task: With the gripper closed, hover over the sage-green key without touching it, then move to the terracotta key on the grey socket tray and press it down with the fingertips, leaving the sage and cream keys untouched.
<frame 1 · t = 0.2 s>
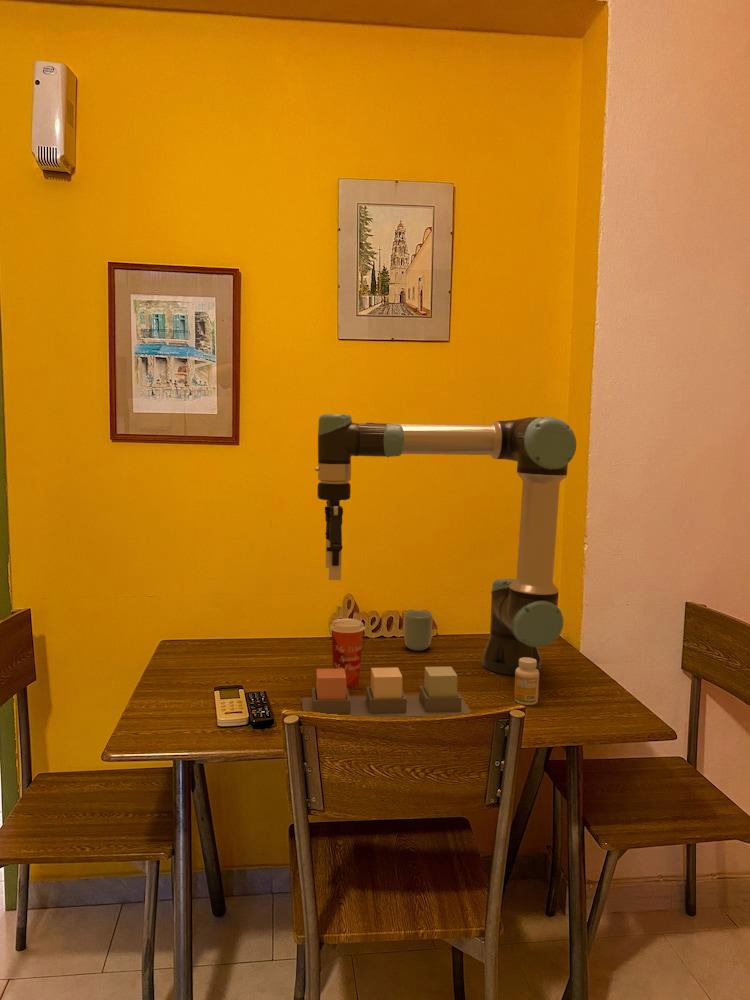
hand: (333, 573, 172), 28 cm above the table, fingers open, 13 cm apart
key sage: (440, 682, 163), point 6 cm above the table, slide at 0.0 cm
key cream: (386, 683, 162), point 6 cm above the table, slide at 0.0 cm
grey socket tray: (385, 711, 162), on the table
key terracotta: (331, 684, 160), point 6 cm above the table, slide at 0.0 cm
coffee cup: (346, 683, 179), on the table
supplement bottle: (525, 701, 170), on the table
cup: (417, 649, 208), on the table
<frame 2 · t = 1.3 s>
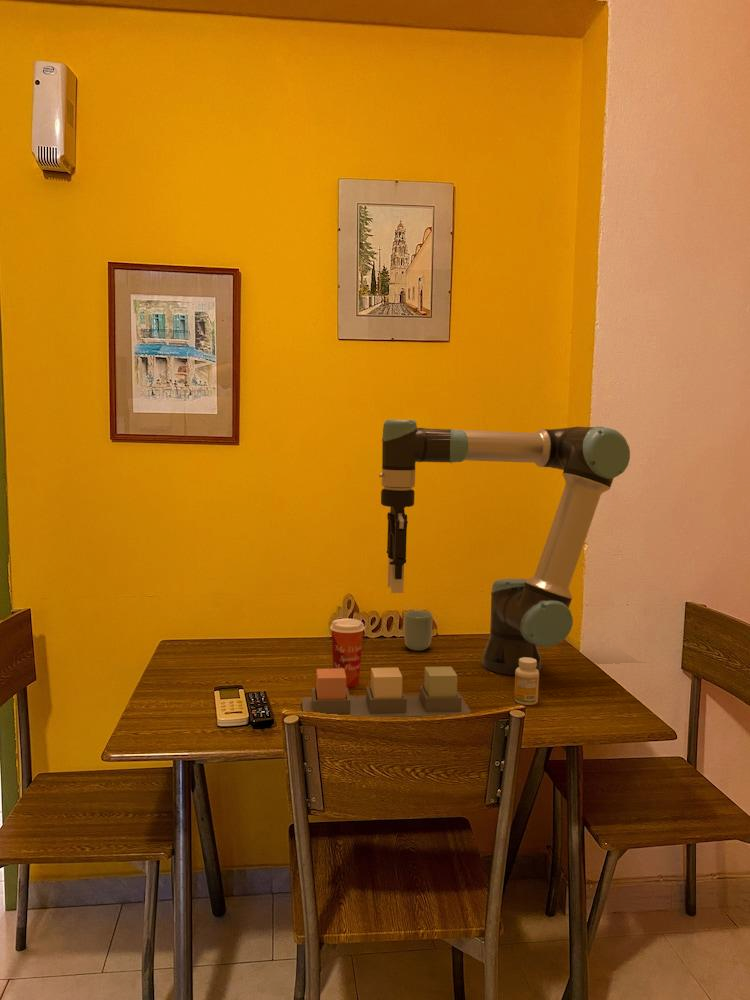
hand: (395, 589, 170), 25 cm above the table, fingers open, 5 cm apart
nothing on the table moved.
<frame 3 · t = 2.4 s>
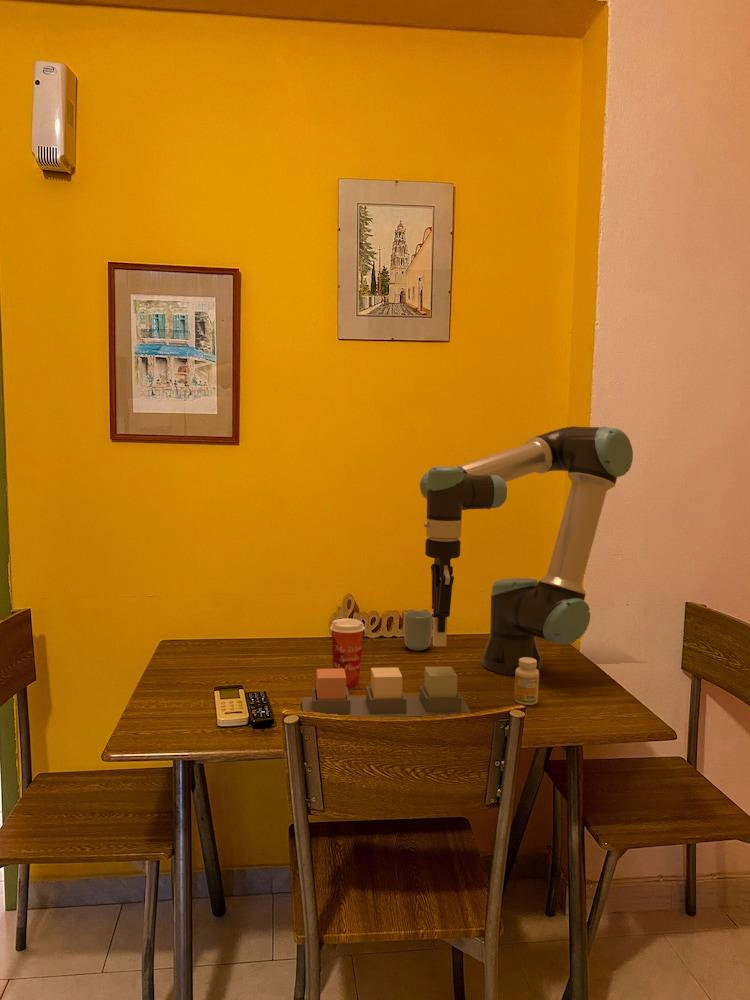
hand: (439, 645, 163), 15 cm above the table, fingers closed
nothing on the table moved.
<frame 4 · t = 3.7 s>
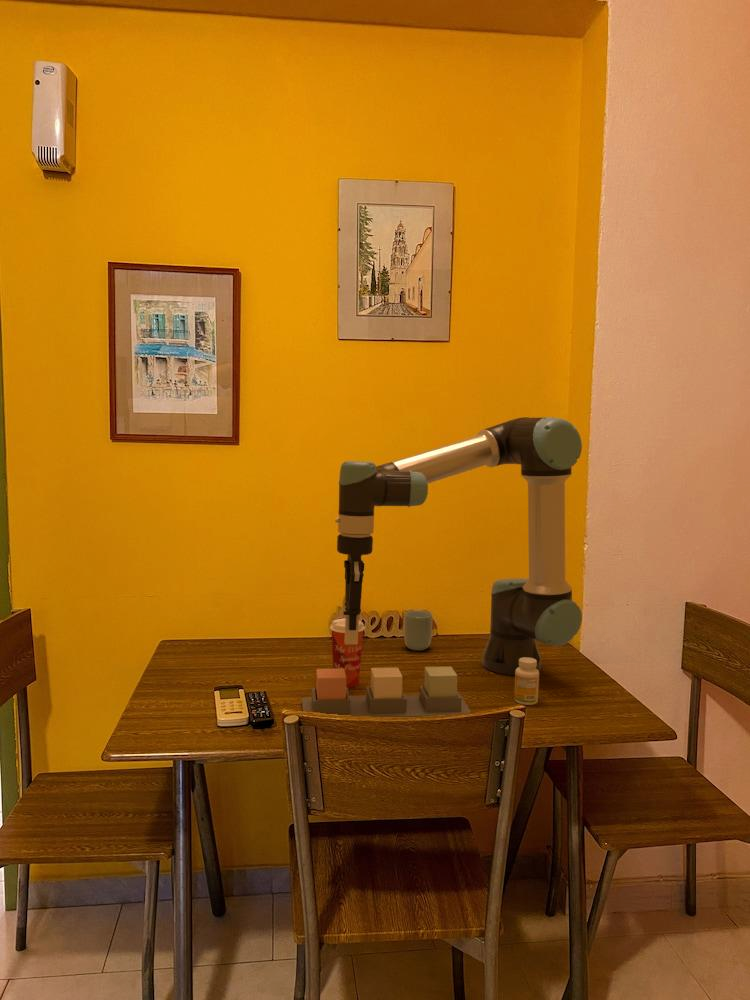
hand: (351, 643, 159), 15 cm above the table, fingers closed
nothing on the table moved.
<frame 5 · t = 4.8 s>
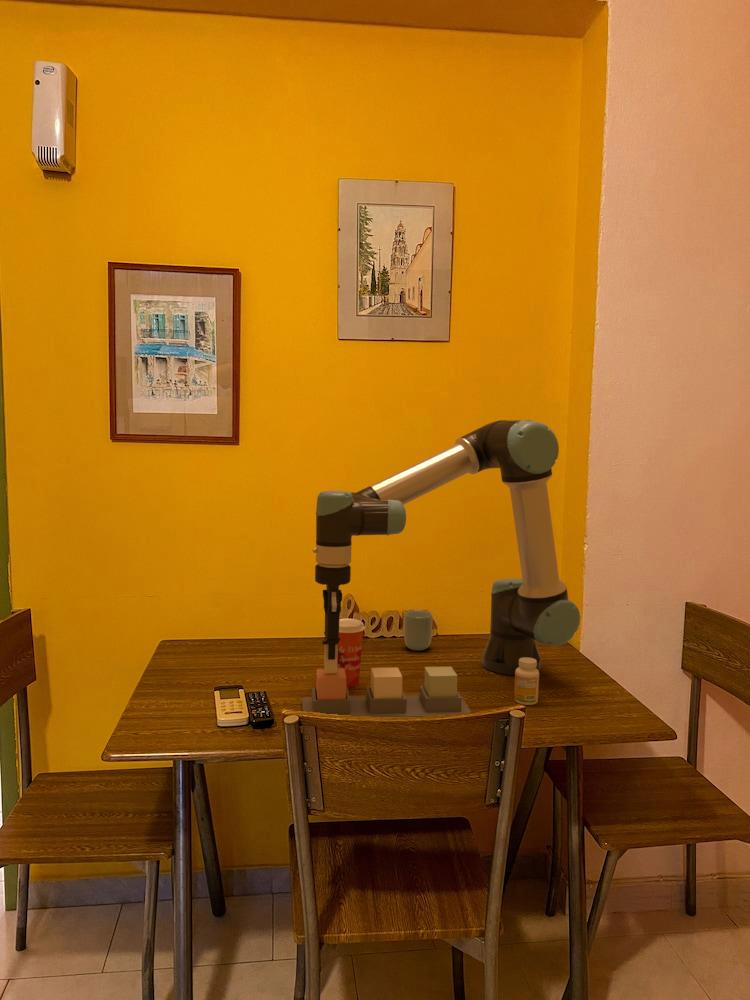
hand: (330, 672, 160), 9 cm above the table, fingers closed
key terracotta: (331, 684, 160), point 6 cm above the table, slide at 0.0 cm, touching gripper
everything else where it was.
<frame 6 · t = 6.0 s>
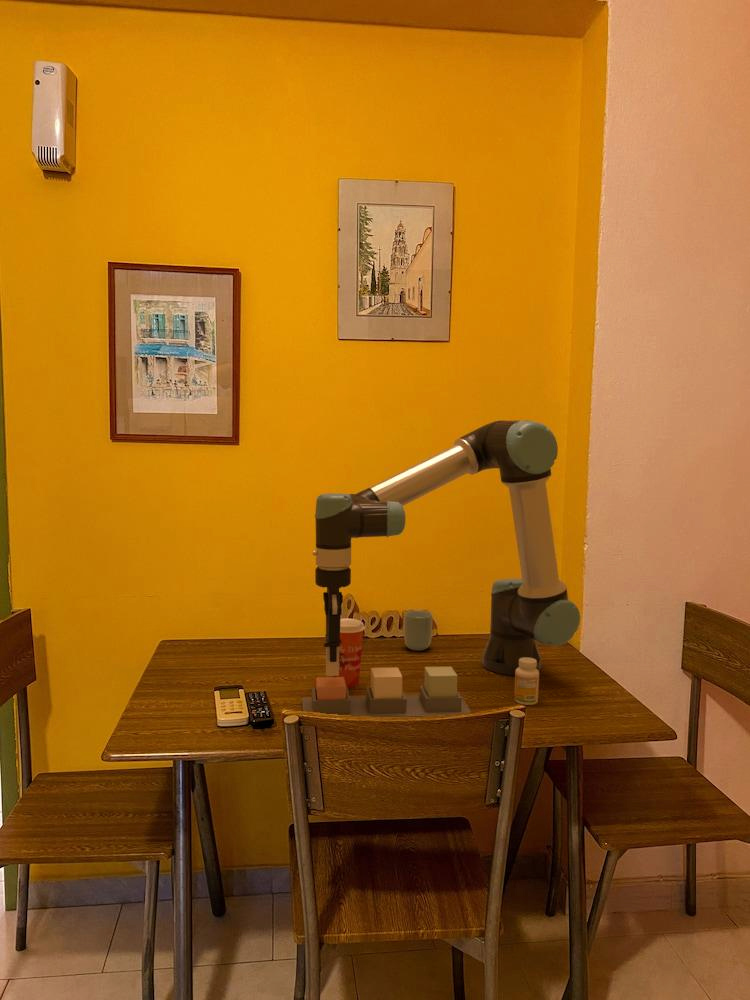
hand: (332, 674, 160), 9 cm above the table, fingers closed
key terracotta: (330, 693, 160), point 4 cm above the table, slide at 2.0 cm
everything else where it was.
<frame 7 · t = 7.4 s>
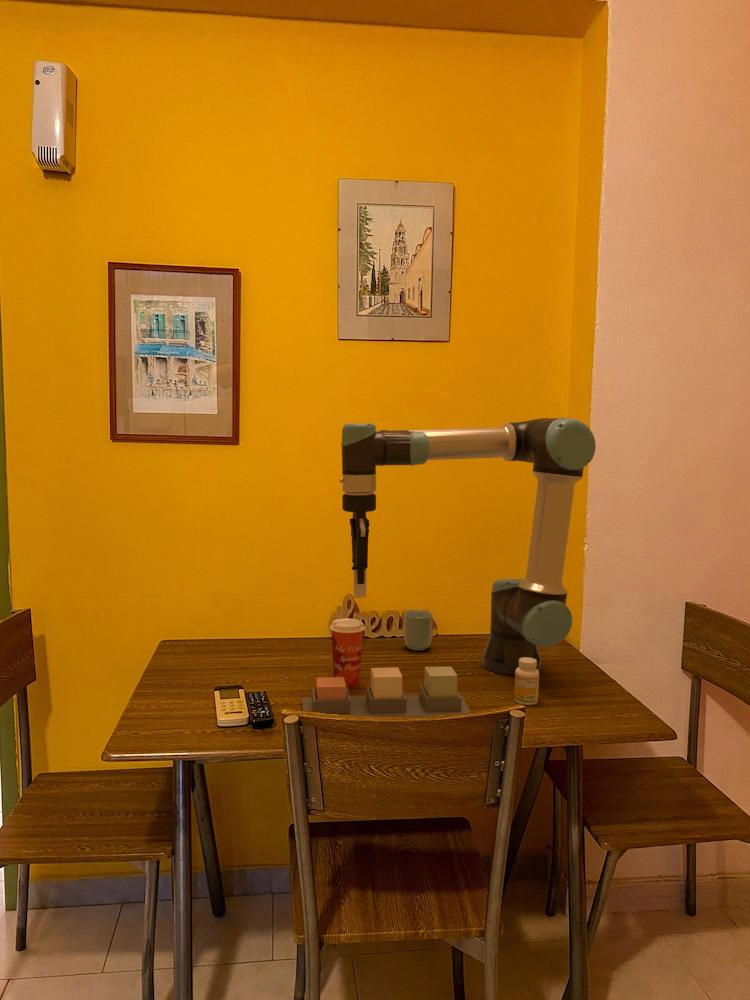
hand: (360, 596, 168), 23 cm above the table, fingers closed
nothing on the table moved.
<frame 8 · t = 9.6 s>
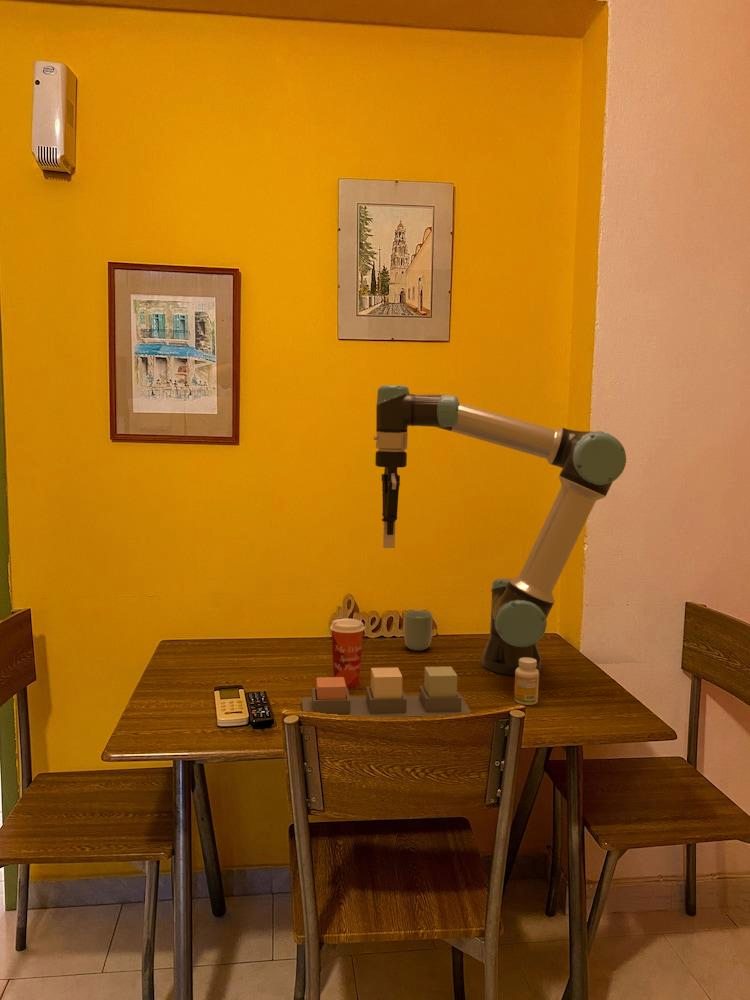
hand: (388, 547, 181), 32 cm above the table, fingers closed
nothing on the table moved.
at the end: key terracotta slide at 2.0 cm; key sage slide at 0.0 cm; key cream slide at 0.0 cm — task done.
